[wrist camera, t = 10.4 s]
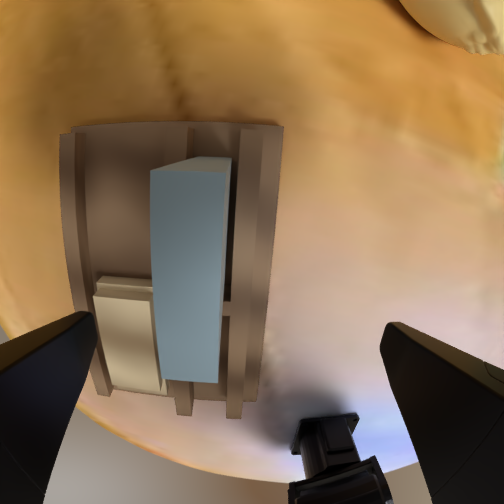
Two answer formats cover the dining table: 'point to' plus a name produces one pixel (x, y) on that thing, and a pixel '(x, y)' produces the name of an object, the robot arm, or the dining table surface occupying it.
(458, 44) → the sculpture
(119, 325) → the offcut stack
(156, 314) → the light blue block
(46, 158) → the dining table surface
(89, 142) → the rack
